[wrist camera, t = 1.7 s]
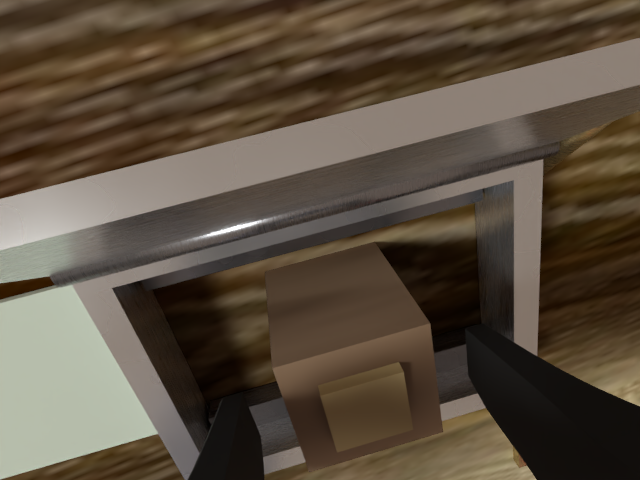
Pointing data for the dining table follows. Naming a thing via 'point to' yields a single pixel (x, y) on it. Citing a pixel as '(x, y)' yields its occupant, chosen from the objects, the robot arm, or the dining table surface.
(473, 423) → the dining table surface
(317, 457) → the walnut block
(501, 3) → the dining table surface
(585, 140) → the propped lid
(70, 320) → the green rubber mat
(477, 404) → the aluminium case
